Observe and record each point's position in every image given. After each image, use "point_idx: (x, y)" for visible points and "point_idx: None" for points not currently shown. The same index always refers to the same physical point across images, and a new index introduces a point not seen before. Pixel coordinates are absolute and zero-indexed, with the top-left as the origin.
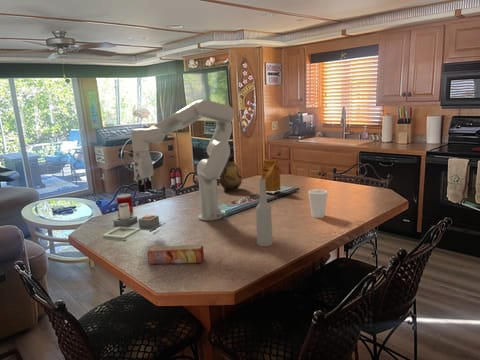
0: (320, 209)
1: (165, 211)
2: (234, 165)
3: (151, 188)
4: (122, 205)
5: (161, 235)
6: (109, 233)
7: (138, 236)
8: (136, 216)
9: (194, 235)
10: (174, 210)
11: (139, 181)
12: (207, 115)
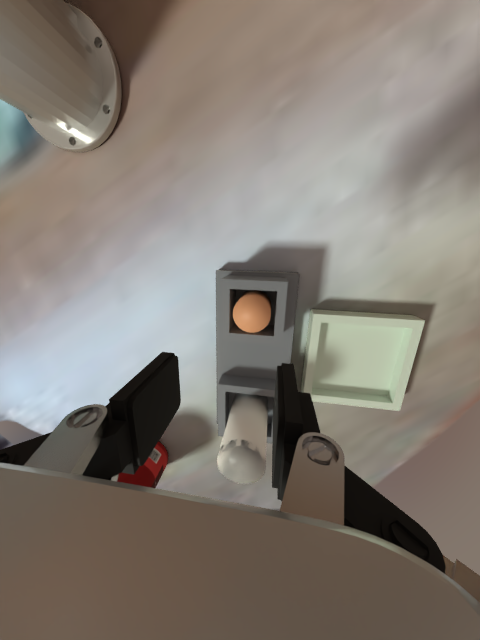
0: None
1: (83, 340)
2: None
3: (166, 355)
4: (257, 462)
5: (332, 199)
6: (372, 399)
7: (351, 293)
8: (218, 385)
9: (316, 11)
10: (62, 312)
11: (421, 534)
12: None
